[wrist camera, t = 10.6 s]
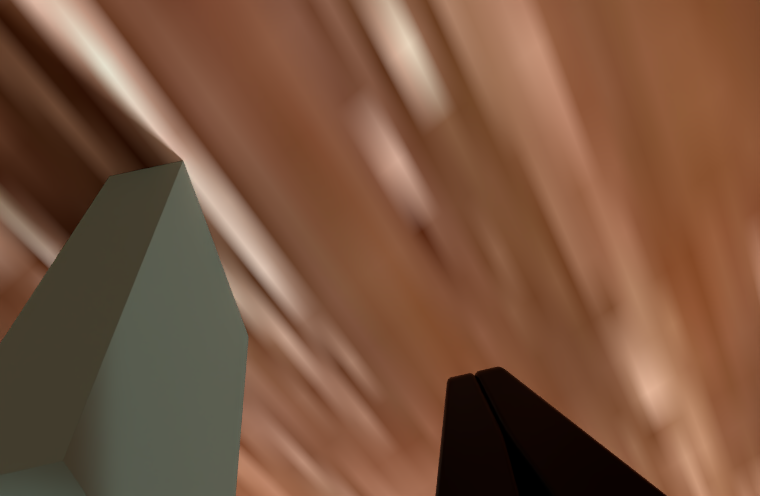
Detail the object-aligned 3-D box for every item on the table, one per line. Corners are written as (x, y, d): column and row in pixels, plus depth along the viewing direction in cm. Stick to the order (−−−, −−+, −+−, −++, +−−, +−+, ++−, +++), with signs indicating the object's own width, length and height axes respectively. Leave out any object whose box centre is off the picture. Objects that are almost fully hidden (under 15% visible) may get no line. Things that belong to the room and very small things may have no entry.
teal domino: (183, 160, 13) (63, 460, 6) (248, 336, 15) (220, 688, 8) (109, 175, 12) (-102, 498, 6) (188, 349, 15) (109, 715, 8)
